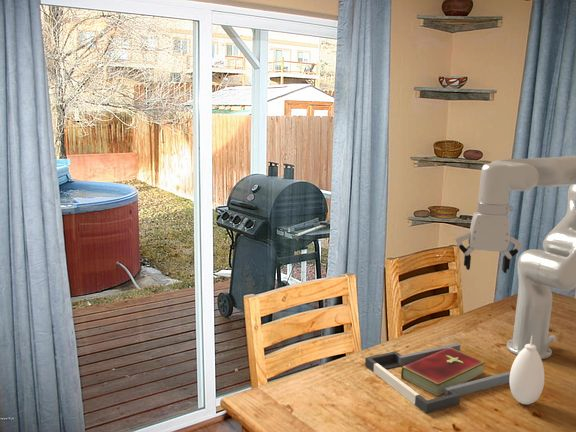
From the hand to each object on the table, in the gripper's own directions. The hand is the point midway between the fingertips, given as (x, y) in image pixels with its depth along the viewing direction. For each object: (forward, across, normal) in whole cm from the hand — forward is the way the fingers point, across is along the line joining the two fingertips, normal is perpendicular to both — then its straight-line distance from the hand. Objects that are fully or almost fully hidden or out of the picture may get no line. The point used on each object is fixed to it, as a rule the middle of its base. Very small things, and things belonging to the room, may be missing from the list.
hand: (485, 270), depth 147 cm
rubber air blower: (+29, -9, +18) cm, 35 cm away
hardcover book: (+29, +10, +9) cm, 32 cm away
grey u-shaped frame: (+29, +10, +9) cm, 32 cm away
